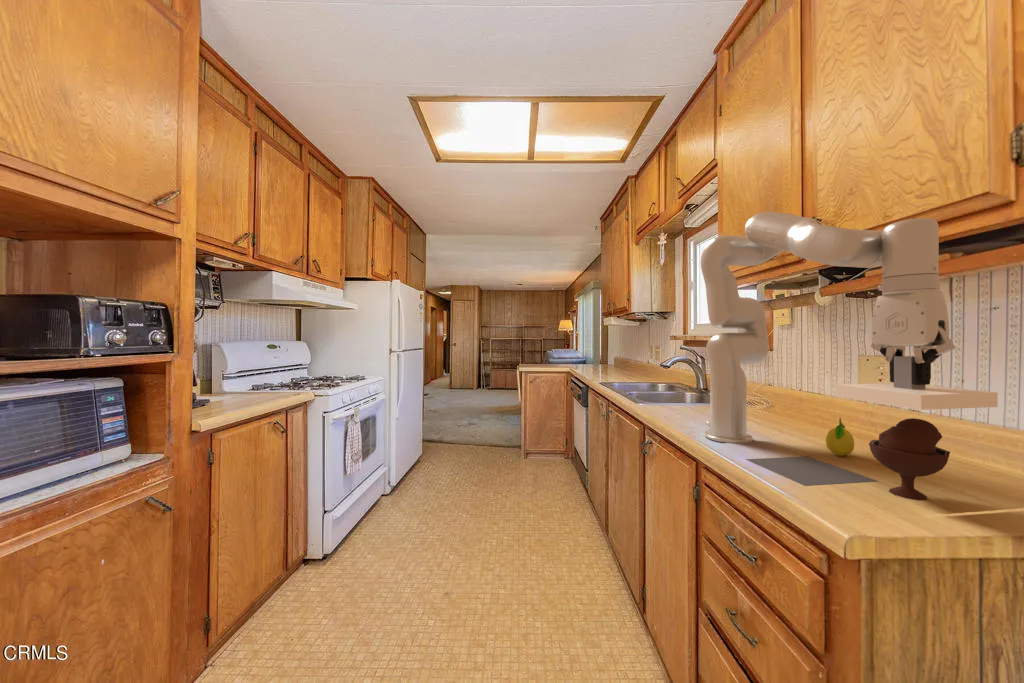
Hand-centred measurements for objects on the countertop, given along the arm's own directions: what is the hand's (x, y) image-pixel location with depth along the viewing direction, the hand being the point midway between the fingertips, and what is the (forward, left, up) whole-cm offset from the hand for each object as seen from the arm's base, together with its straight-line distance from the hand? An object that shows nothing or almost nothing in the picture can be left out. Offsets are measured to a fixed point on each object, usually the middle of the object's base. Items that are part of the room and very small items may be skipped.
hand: (909, 382), depth 74 cm
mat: (-15, -7, -22) cm, 28 cm away
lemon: (-23, +10, -22) cm, 34 cm away
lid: (0, 0, -4) cm, 4 cm away
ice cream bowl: (0, 0, -22) cm, 22 cm away
